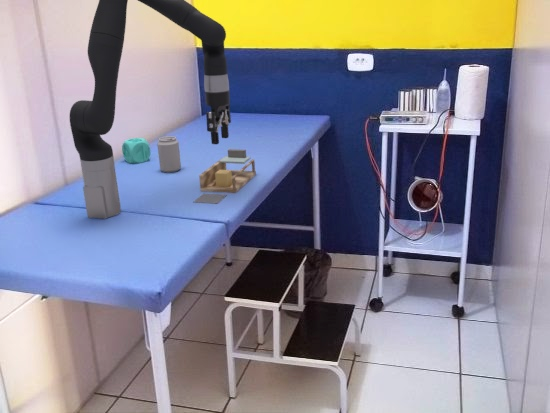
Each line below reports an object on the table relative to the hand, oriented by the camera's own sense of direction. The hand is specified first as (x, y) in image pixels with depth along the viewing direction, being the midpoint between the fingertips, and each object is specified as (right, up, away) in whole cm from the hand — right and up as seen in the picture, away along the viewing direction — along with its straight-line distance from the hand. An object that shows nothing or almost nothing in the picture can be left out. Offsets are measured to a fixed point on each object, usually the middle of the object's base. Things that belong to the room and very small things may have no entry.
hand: (220, 140), depth 191 cm
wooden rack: (+2, -13, +9) cm, 16 cm away
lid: (+4, -5, +13) cm, 15 cm away
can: (-20, -8, +27) cm, 35 cm away
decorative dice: (-36, -3, +42) cm, 55 cm away
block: (+1, -14, +5) cm, 15 cm away
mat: (-3, -19, -6) cm, 20 cm away
